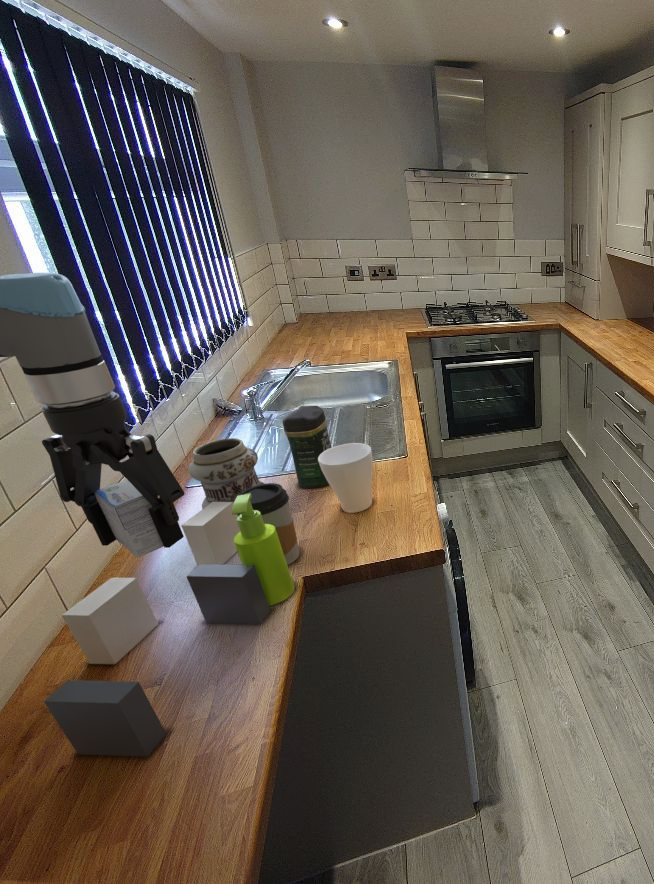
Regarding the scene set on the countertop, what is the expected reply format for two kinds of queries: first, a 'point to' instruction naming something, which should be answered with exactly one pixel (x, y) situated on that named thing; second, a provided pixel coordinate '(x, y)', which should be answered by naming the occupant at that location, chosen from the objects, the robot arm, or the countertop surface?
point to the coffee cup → (276, 515)
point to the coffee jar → (307, 443)
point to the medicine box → (129, 517)
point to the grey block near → (106, 717)
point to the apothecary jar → (224, 469)
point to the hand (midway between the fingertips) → (143, 540)
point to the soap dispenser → (262, 550)
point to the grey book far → (229, 593)
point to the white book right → (212, 533)
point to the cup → (349, 474)
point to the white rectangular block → (111, 620)
